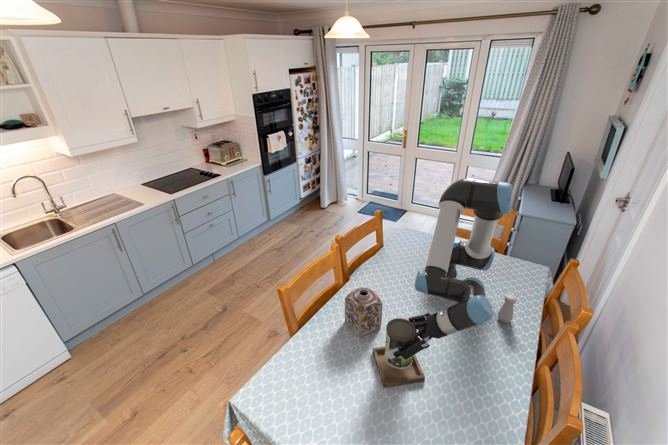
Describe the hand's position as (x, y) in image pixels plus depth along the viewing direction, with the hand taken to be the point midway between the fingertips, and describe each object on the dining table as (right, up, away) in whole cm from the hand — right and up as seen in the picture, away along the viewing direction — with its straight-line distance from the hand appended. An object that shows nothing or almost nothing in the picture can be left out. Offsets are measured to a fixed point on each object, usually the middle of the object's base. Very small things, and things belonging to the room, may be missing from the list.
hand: (391, 343), depth 112 cm
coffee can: (+3, -5, +2) cm, 6 cm away
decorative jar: (-8, -1, +23) cm, 24 cm away
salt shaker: (+53, +1, +23) cm, 58 cm away
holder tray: (+3, -10, +4) cm, 11 cm away
